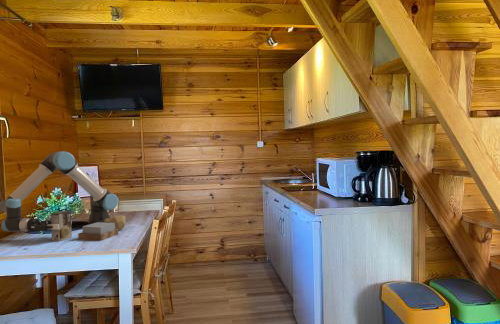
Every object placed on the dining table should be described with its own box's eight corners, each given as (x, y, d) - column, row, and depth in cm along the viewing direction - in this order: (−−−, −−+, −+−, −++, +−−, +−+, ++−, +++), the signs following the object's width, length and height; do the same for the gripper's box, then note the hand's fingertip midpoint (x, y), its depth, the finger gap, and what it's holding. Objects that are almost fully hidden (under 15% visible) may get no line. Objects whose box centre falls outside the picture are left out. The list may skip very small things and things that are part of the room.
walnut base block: (96, 234, 225) (96, 227, 225) (118, 235, 221) (118, 229, 221) (78, 240, 210) (78, 233, 210) (101, 241, 206) (100, 235, 206)
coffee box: (63, 237, 216) (63, 210, 216) (72, 237, 214) (71, 211, 214) (51, 240, 207) (50, 213, 207) (59, 241, 206) (59, 213, 205)
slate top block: (97, 228, 224) (97, 222, 223) (115, 229, 220) (114, 223, 220) (82, 233, 211) (82, 226, 211) (100, 234, 208) (100, 227, 207)
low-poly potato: (130, 230, 235) (126, 219, 243) (127, 217, 229) (122, 207, 237) (107, 238, 229) (103, 227, 237) (103, 226, 223) (99, 215, 231)
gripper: (43, 226, 223) (76, 226, 223) (16, 236, 198) (53, 235, 198) (42, 214, 223) (75, 214, 223) (15, 222, 198) (52, 222, 198)
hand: (65, 224), depth 210 cm, fingers open, 13 cm apart
